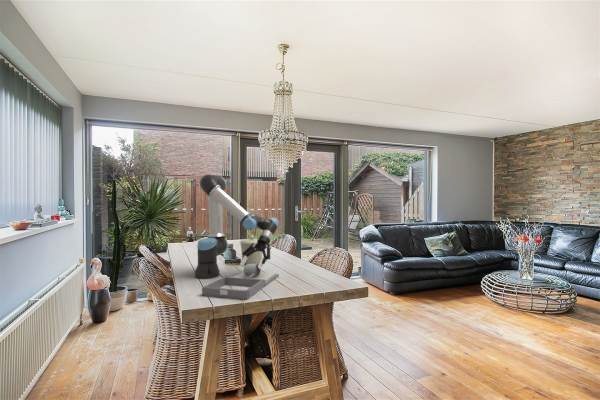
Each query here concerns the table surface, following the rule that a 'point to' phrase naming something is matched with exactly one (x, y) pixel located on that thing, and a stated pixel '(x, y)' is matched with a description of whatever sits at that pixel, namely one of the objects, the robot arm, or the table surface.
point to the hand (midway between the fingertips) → (250, 266)
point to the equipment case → (239, 279)
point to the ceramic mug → (251, 270)
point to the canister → (254, 257)
